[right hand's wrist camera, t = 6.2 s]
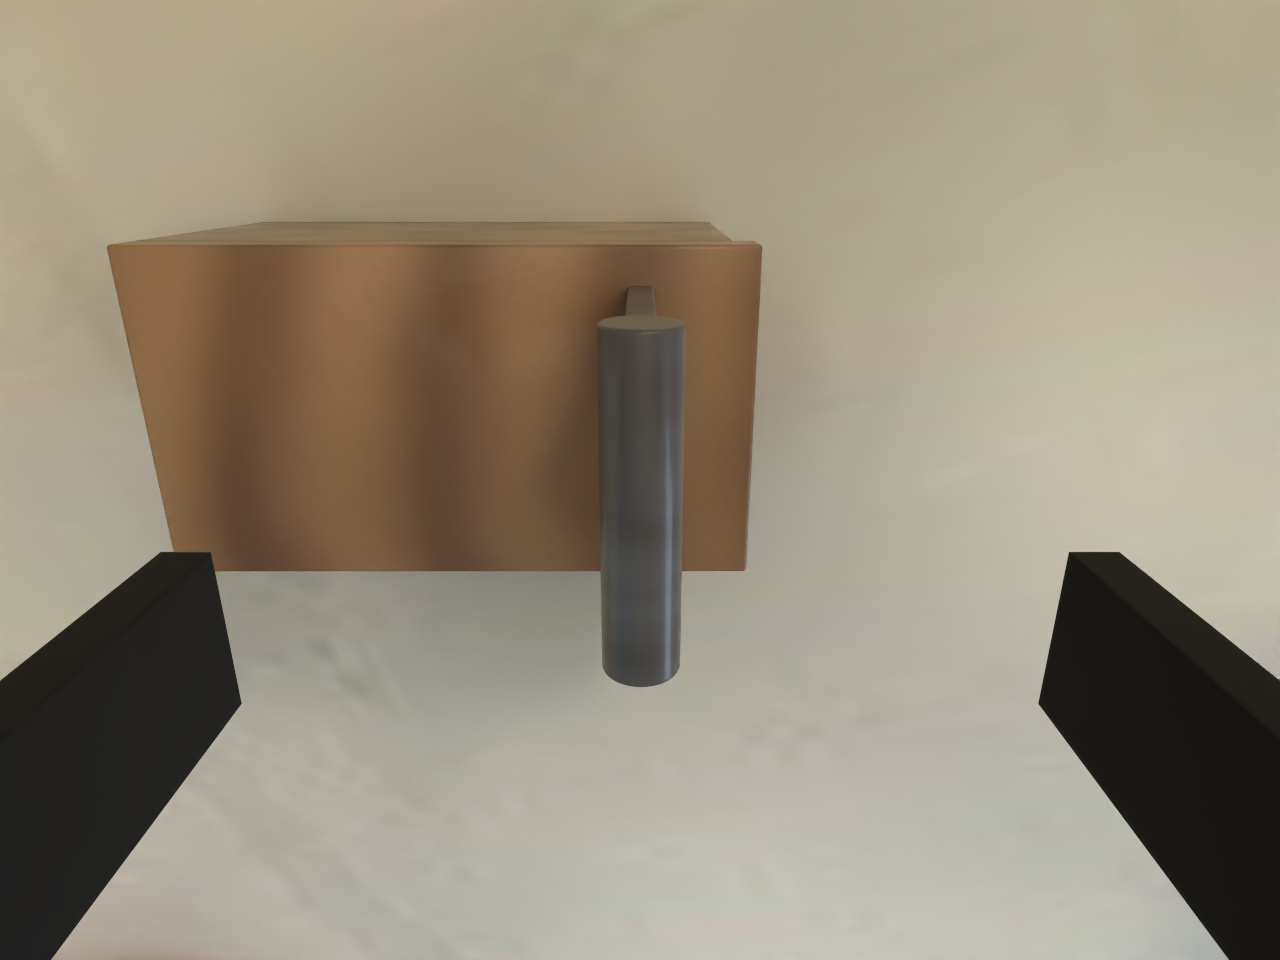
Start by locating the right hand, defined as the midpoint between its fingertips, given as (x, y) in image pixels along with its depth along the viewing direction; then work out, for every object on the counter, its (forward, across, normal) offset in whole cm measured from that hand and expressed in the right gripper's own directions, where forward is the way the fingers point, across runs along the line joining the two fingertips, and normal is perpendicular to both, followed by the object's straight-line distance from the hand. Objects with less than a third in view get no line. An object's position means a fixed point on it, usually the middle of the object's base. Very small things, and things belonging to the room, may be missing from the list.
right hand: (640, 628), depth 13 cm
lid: (+12, -5, 0) cm, 14 cm away
